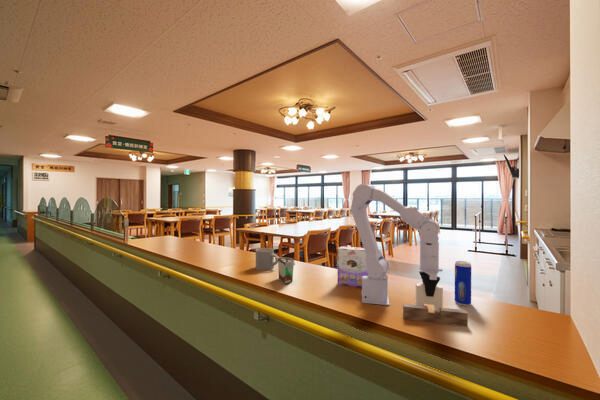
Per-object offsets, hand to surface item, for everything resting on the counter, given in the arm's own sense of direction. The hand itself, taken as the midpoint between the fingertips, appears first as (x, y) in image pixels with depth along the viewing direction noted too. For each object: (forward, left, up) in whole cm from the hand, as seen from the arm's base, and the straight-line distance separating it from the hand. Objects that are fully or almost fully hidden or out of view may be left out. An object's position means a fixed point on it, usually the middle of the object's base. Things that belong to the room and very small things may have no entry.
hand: (428, 294), depth 91 cm
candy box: (-27, +20, -6) cm, 34 cm away
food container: (-57, +17, -6) cm, 60 cm away
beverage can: (+13, +10, -6) cm, 17 cm away
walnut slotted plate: (0, -8, -5) cm, 10 cm away
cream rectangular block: (0, 0, -5) cm, 5 cm away
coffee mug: (-75, +34, -6) cm, 82 cm away
